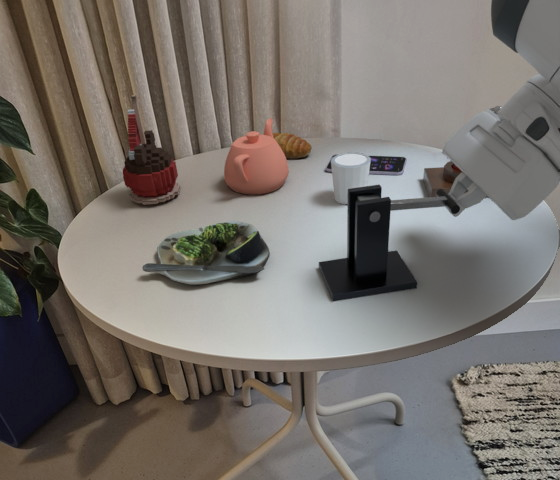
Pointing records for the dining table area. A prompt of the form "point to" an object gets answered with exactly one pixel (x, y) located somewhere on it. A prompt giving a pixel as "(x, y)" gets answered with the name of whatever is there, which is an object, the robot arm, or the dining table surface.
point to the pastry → (292, 145)
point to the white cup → (349, 173)
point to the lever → (420, 202)
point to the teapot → (256, 163)
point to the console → (440, 178)
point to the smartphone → (382, 165)
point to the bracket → (367, 252)
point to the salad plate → (211, 253)
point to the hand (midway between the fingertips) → (447, 209)
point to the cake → (147, 164)
